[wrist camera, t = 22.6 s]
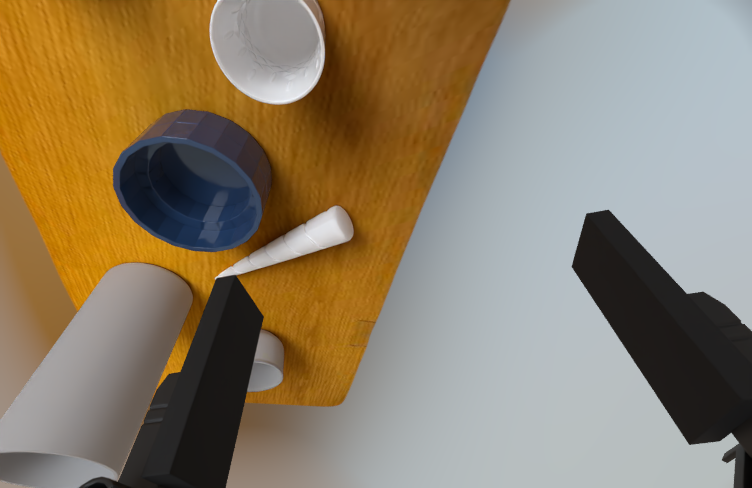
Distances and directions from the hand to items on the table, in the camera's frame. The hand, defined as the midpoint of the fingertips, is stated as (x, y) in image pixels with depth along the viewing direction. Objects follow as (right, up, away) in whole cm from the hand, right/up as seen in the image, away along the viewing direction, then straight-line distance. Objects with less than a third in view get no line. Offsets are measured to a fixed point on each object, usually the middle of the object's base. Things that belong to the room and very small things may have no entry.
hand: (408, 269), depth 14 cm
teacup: (-24, -17, +52) cm, 60 cm away
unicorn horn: (-15, +1, +37) cm, 40 cm away
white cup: (-9, +22, +19) cm, 30 cm away
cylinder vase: (-36, -6, +41) cm, 55 cm away
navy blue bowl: (-21, +10, +28) cm, 36 cm away
